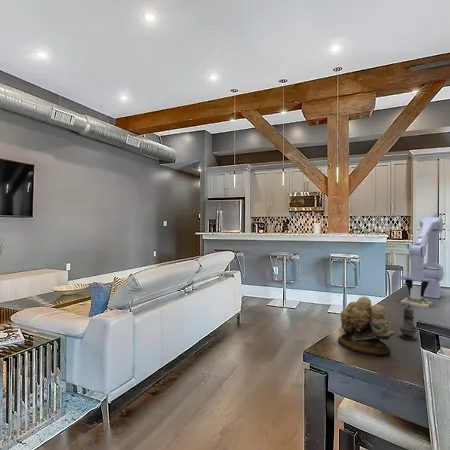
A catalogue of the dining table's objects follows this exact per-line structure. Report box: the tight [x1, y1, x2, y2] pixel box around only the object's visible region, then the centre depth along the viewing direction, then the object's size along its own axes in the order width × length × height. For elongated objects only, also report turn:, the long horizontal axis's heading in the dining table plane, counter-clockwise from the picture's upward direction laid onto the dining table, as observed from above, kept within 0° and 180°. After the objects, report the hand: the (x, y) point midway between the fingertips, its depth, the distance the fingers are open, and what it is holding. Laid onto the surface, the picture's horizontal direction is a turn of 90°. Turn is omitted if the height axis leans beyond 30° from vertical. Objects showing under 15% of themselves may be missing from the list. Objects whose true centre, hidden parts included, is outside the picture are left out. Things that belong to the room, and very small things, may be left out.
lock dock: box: [399, 295, 434, 309], centre depth 165 cm, size 11×12×2 cm
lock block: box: [409, 286, 424, 301], centre depth 164 cm, size 4×4×6 cm
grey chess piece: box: [398, 304, 418, 340], centre depth 117 cm, size 6×6×12 cm
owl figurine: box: [337, 296, 395, 357], centre depth 108 cm, size 18×12×17 cm, turn 42°
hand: (416, 295), depth 164 cm, fingers closed on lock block, 4 cm apart
